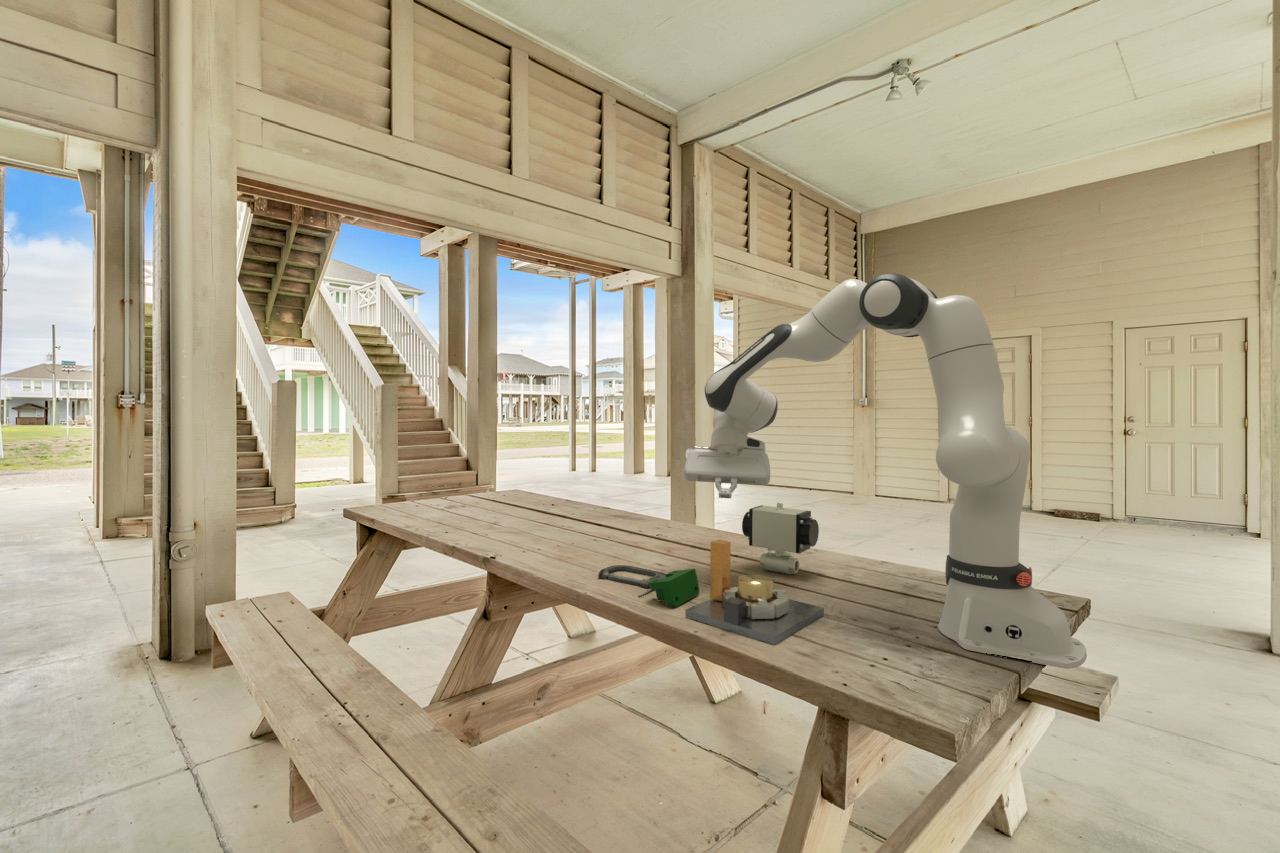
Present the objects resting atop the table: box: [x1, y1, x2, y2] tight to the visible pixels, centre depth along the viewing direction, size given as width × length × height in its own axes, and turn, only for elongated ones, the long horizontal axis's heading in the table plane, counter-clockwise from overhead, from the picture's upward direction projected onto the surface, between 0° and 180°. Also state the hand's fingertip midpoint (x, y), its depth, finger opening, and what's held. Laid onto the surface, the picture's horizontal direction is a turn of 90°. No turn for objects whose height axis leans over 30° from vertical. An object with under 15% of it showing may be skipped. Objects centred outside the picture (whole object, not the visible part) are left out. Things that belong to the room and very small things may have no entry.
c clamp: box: [597, 564, 666, 598], centre depth 141 cm, size 20×17×3 cm
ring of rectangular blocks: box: [709, 539, 790, 619], centre depth 117 cm, size 16×12×12 cm
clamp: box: [649, 568, 700, 607], centre depth 127 cm, size 12×6×9 cm, turn 140°
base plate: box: [684, 573, 825, 646], centre depth 116 cm, size 20×20×8 cm
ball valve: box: [741, 502, 820, 575], centre depth 148 cm, size 18×8×18 cm, turn 52°
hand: (724, 496), depth 133 cm, fingers closed
